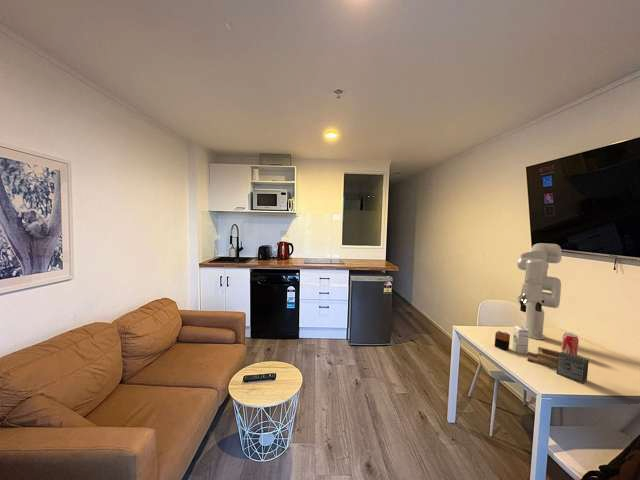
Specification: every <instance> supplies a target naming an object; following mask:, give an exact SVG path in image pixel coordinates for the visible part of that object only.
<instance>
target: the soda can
mask: <svg viewBox="0 0 640 480" xmlns="http://www.w3.org/2000/svg"><path fill="white" fill-rule="evenodd" d="M579 341H580V339H579V338H578V335H577V334H574V333H572V332H571V333H570V332H565V333H564V334H563V335H562V339H561V352H564V353H568V354H571V355H574V356H578V350H579Z"/></svg>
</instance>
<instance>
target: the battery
mask: <svg viewBox="0 0 640 480" xmlns="http://www.w3.org/2000/svg"><path fill="white" fill-rule="evenodd" d="M494 335H495V337H494V347H495V348H497V349H501V350H504V351H508V350H509V349H510V339H511V335H510V333H508V332H505V331H504V332H503V331H501V330H498V331H496V332H495V334H494Z"/></svg>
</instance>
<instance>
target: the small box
mask: <svg viewBox="0 0 640 480" xmlns="http://www.w3.org/2000/svg"><path fill="white" fill-rule="evenodd" d="M560 352H561V353H559V354H558V363H557V369H556V372H555V373H556V375H559V376H562V377H565V378H567V379H569V380H573V381H575V382H578V383H580V384H585V383H586V382H587V381H588V373H589V359H586V358H582V357H580V356H578V355H576V356H574V355H571V354H568V353H564V352H562V351H560Z"/></svg>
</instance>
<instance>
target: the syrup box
mask: <svg viewBox="0 0 640 480" xmlns="http://www.w3.org/2000/svg"><path fill="white" fill-rule="evenodd" d="M525 327H526V326H519V325H514V326H513V338H512V339H513V340H512V349H513V350H514V351H515V352H516V353H517V354H526V355H528V352H529V351H528V350H529V339H530V338H529V330H528V329H526V328H525Z"/></svg>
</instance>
